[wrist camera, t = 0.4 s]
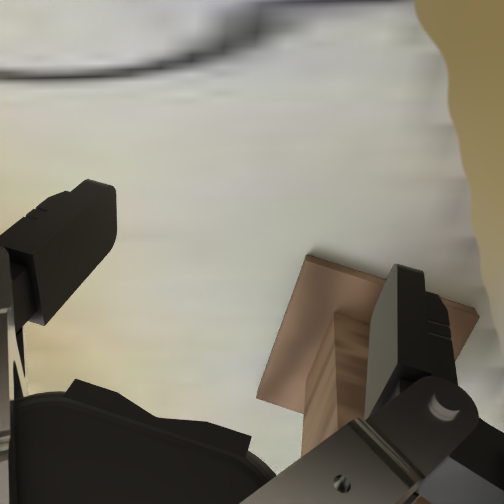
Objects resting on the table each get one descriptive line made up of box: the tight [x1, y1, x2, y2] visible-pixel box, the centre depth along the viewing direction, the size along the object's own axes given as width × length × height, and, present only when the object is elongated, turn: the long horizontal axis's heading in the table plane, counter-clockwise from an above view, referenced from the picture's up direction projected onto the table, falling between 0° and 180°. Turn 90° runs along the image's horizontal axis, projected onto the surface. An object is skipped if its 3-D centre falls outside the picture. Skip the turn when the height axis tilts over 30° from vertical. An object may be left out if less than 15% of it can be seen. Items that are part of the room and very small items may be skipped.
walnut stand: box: [256, 255, 480, 504], centre depth 31 cm, size 20×16×32 cm
